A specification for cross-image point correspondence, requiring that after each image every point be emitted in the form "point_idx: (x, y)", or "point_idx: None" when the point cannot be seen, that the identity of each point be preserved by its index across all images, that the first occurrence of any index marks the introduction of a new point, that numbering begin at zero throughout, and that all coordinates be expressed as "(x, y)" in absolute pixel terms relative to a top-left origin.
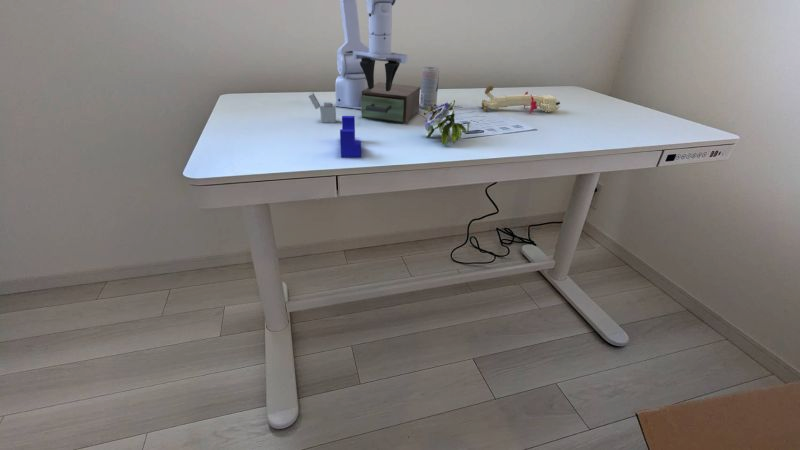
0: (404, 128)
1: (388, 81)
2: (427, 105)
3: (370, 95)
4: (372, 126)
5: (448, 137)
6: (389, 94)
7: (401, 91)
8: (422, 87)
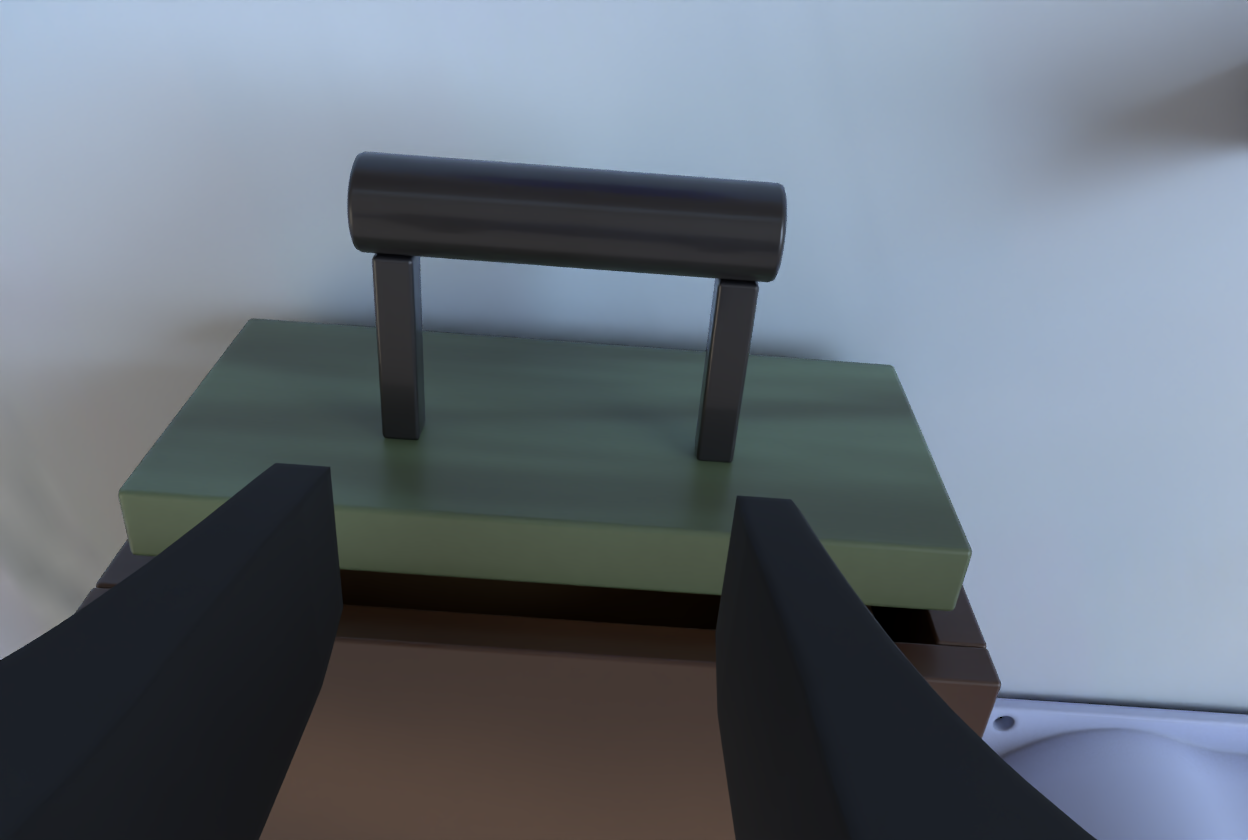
0: (159, 157)
1: (141, 583)
2: None
3: None
4: (637, 80)
5: None
6: (421, 645)
7: None
8: None
